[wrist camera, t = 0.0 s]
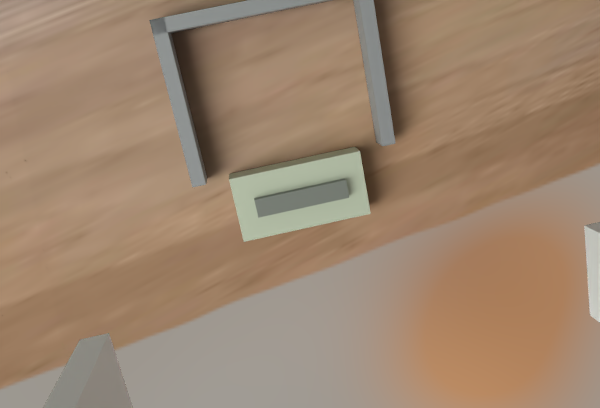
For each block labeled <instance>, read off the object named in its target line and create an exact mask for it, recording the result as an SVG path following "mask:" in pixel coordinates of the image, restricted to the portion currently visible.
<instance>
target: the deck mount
mask: <svg viewBox="0 0 600 408" xmlns="http://www.w3.org/2000/svg"><path fill="white" fill-rule="evenodd" d="M327 1H331V0H247V1H242V2H237V3H232V4H227V5H222V6H217V7H212V8H207V9H202V10H197V11H192V12H188V13H183V14H178V15H173V16H168V17H163V18H158V19H153V20H150V24H151V28H152V32H153V36H154V40H155V44H156V47H157V51H158V55H159V59H160V63H161V67H162V71H163V75H164V78H165V82H166V86H167V90H168V94H169V98H170V102H171V106H172V109H173V113H174V117H175V121H176V125H177V129H178V133H179V137H180V141H181V144H182V148H183V152H184V156H185V160H186V164H187V168H188V172H189V175H190V179H191V183H192V187H196V186H201V185H206V182H207V176H206V172H205V168H204V164H203V160H202V156H201V152H200V147H199V143H198V139H197V135H196V131H195V127H194V123H193V119H192V115H191V111H190V107H189V103H188V99H187V95H186V91H185V87H184V83H183V79H182V75H181V71H180V67H179V63H178V59H177V55H176V51H175V47H174V43H173V39H172V35H171V33H174V32H179V31H184V30H189V29H194V28H198V27H203V26H208V25H213V24H218V23H223V22H228V21H233V20H238V19H243V18H248V17H253V16H258V15H262V14H267V13H272V12H277V11H282V10H287V9H292V8H297V7H302V6H307V5H312V4H317V3H322V2H327ZM353 1H354V7H355V13H356V19H357V25H358V32H359V38H360V44H361V50H362V56H363V62H364V69H365V75H366V81H367V87H368V93H369V99H370V106H371V112H372V118H373V124H374V130H375V137H376V142H377V143H378V144H380V145H382V146H386V145H390V144H395V137H394V131H393V124H392V118H391V111H390V104H389V98H388V91H387V85H386V78H385V72H384V65H383V59H382V52H381V45H380V39H379V32H378V26H377V19H376V13H375V6H374V0H353ZM229 181H230V185H231V190H232V194H233V198H234V202H235V206H236V211H237V215H238V219H239V223H240V227H241V232H242V236H243V240H244V242H245V241H250V240H254V239H259V238H263V237H268V236H272V235H277V234H281V233H286V232H290V231H295V230H299V229H304V228H308V227H313V226H317V225H322V224H326V223H331V222H335V221H340V220H344V219H349V218H353V217H358V216H362V215H367V214H371V213H370V207H369V201H368V195H367V189H366V184H365V178H364V172H363V166H362V160H361V154H360V151H359V150H358V149H357V148H356V147H351V148H347V149H342V150H338V151H333V152H328V153H324V154H319V155H314V156H310V157H305V158H301V159H296V160H291V161H287V162H282V163H277V164H273V165H268V166H263V167H259V168H254V169H250V170H245V171H240V172H236V173H231V174H229Z"/></svg>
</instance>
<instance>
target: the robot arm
mask: <svg viewBox="0 0 600 408" xmlns="http://www.w3.org/2000/svg"><path fill="white" fill-rule="evenodd" d="M585 242H586V258H587V274H588V291H589V307H590V315H591V316H592V317H593V318H595V319H596V320H597V321H598V322H600V222H598V223H593V224H589V225H585ZM43 408H133V406H132V403H131V400H130V397H129V394H128V391H127V388H126V384H125V381H124V378H123V376H122V372H121V369H120V366H119V363H118V360H117V357H116V353H115V350H114V347H113V344H112V341H111V338H110V335H109V333H108V334H103V335H99V336H94V337H90V338H85V339H81V340H80V341H79V342H78V344H77V346H76V348H75V350H74V352H73V353H72V355H71V357H70V359H69V361H68V363H67V364H66V366H65V368H64V370H63V372H62V374H61V375H60V377H59V379H58V381H57V383H56V385H55V387H54V388H53V390H52V392H51V394H50V396H49V398H48V399H47V402H46V403H45V405H44V407H43Z"/></svg>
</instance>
